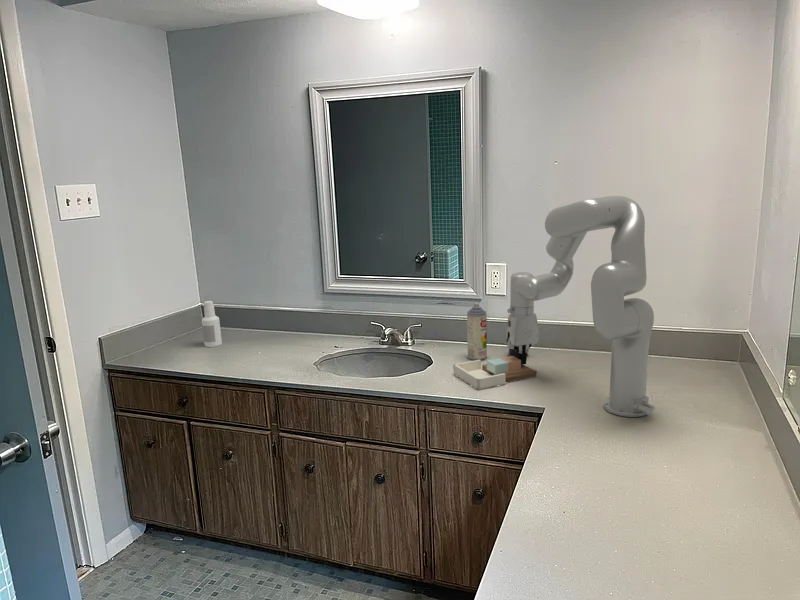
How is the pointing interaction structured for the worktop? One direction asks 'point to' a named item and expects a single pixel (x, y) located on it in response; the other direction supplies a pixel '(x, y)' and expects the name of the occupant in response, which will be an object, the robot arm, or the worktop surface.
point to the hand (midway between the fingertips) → (521, 363)
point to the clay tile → (512, 363)
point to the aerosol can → (477, 333)
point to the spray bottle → (211, 326)
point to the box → (477, 375)
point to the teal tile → (497, 366)
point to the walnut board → (515, 373)
